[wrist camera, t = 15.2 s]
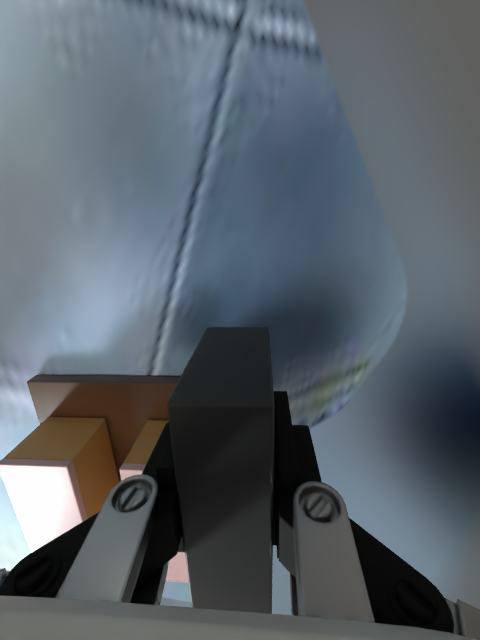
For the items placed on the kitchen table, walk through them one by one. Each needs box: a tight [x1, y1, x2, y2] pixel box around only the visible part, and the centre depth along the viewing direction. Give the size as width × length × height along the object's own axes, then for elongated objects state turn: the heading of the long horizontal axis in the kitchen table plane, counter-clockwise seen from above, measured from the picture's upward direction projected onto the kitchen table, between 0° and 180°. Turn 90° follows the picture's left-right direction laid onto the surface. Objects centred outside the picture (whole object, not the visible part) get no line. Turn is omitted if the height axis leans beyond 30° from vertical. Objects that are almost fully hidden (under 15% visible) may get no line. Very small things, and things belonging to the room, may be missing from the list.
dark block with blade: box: [167, 327, 275, 614], centre depth 11 cm, size 16×2×5 cm, turn 2°
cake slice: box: [120, 420, 189, 583], centre depth 20 cm, size 10×4×4 cm, turn 1°
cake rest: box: [0, 417, 119, 553], centre depth 21 cm, size 10×4×4 cm, turn 1°
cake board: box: [27, 375, 180, 482], centre depth 23 cm, size 14×12×1 cm
